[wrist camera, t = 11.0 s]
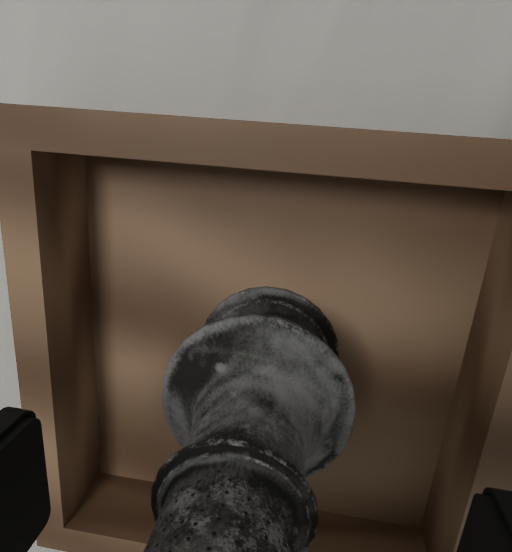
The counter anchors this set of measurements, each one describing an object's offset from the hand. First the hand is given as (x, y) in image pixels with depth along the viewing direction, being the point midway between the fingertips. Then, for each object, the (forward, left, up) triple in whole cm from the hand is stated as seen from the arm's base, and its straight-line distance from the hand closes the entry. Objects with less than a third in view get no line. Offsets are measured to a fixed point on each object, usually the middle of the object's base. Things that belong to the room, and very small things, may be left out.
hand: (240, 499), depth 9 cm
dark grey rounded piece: (0, 0, -7) cm, 7 cm away
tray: (0, 0, -8) cm, 8 cm away
